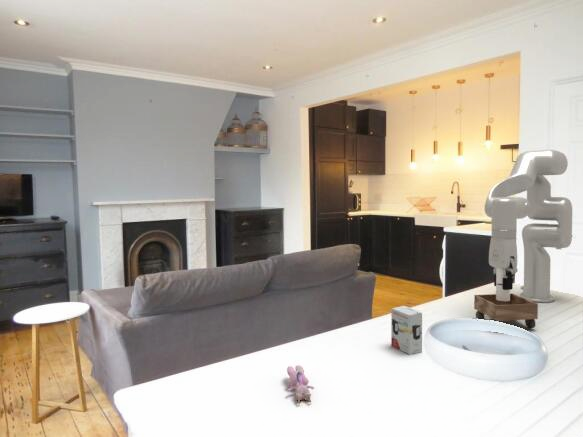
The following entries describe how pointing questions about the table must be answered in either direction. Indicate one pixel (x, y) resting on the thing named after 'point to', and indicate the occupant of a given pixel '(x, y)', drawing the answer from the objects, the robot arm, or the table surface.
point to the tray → (506, 309)
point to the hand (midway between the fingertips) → (503, 287)
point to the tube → (501, 286)
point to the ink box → (406, 329)
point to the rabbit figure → (299, 383)
